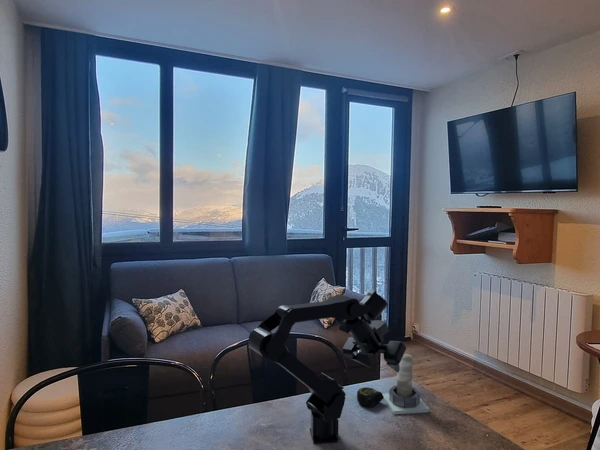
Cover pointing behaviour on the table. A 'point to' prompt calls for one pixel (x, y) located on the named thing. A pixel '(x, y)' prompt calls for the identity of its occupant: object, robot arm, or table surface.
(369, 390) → the tape measure
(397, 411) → the collar board
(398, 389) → the peg
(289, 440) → the table surface
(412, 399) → the collar
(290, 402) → the table surface
